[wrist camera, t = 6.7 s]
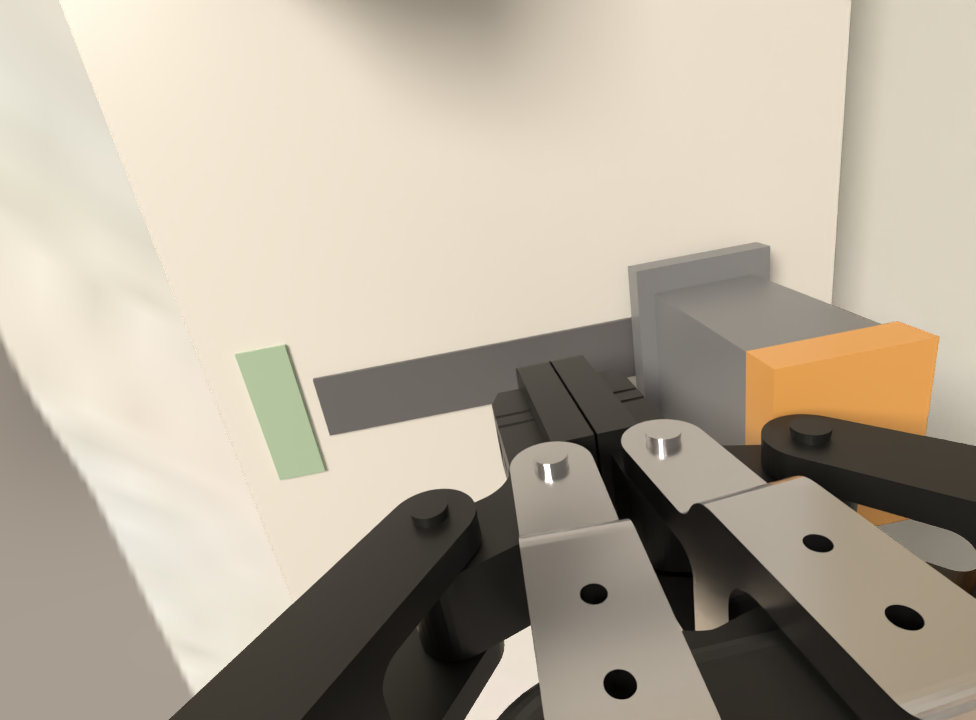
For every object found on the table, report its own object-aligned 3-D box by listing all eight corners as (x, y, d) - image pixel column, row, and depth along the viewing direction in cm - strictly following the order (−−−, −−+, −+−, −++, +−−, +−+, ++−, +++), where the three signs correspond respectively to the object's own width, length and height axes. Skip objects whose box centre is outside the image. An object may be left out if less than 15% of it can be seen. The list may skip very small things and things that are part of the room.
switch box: (763, 446, 20) (821, 497, 17) (313, 537, 19) (292, 607, 16) (784, -615, 11) (915, -892, 8) (-52, -502, 10) (-238, -756, 7)
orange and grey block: (753, 403, 15) (925, 537, 10) (639, 426, 15) (752, 574, 10) (756, 241, 13) (963, 301, 8) (627, 266, 13) (755, 342, 8)
